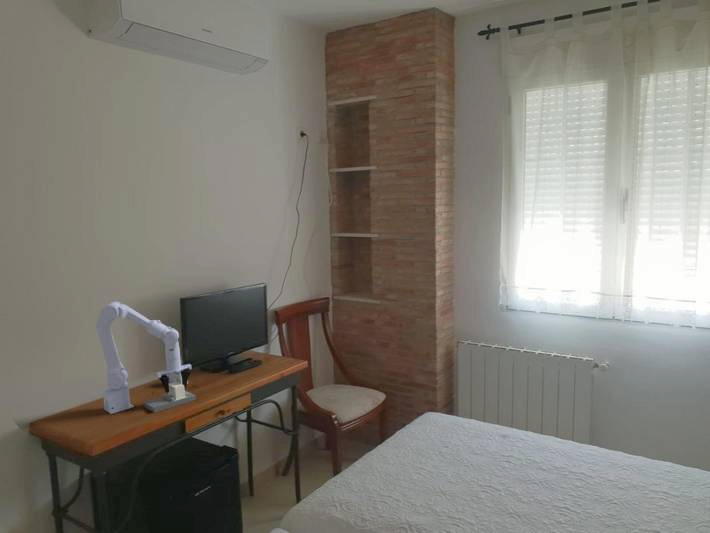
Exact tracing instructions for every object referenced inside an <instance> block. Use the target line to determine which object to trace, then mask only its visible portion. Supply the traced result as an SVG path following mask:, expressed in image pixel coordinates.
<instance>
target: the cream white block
mask: <svg viewBox="0 0 710 533" xmlns="http://www.w3.org/2000/svg"><path fill="white" fill-rule="evenodd" d="M185 389H186V388H184V385H182V384H180V383H178V382H172V383H169V393H167V395H169V396H171V397H173V398H175V399H176V400H177V399H180V398H183V397H185V391H186V390H185Z"/></svg>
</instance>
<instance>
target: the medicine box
mask: <svg viewBox="0 0 710 533" xmlns="http://www.w3.org/2000/svg"><path fill="white" fill-rule="evenodd" d="M167 377H168V378H169V383H172V382H178V383H180V384H182V377H181V373H180V372H177V373H173V374H169V375H167ZM188 384H189V380H188V381H187V385H188Z"/></svg>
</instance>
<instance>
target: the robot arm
mask: <svg viewBox="0 0 710 533" xmlns="http://www.w3.org/2000/svg"><path fill="white" fill-rule="evenodd" d="M118 317H119V318H118ZM117 318H118V319H119V320H123V319H128V320H130V321H133V322H134V323H137V324H138V325H141V326H143V327H144V328H145V330H146V332H147V333H148V334H151V335H153V336H154V337H156V338H158V339H159V340H162V341H163V343H164V352H165V361H166V362H165V363H166V364H165V365H166V368H165V369H162V370H160V371H157V372H156V378H158V379H159V380H160V382H161V384H162V385H163V388H164V391H165V393H166V394H168V393H169V376H168V375H169V374H173V373H177V372H180V373H181V377H182V385H184V388H185V389H187V386H188V384H187V381H188V382H189V378H190V375H191V370H192V364H190V363H187V364H183V365H182V360H181V350H180V344H179V338H180V334H179V333H180V332H179V331H178V330H176V328H172V327H171V326H167V325H165V324H164V323H162V321H161V320H159V319H158V320H156V319H152V320H150V319H148V318H147V317H146V316H144V315H143V314H141V313H139V312H138V311H136V310H134V309H133V308H132V307H130V306H128V305H126V304H124V303H121V302H120V301H118V300H113V301H110V302H109V303H108V304H106V305H104V307H103V308H102V309H101V310H100V311H99V315H98V319H97V320H96V324H95V328H96V332H97V335H98V338H99V341H100V345H101V349H102V353H103V356H104V359H105V362H106V366H107V370H106V371H107V374H106V375H107V381H106V382H107V385H108V389H107V390H104V391H103V393H102V397H103V410H104V411H106V412H107V413H109V414H110V415H111V414H115V413H118V412H123V411H126V410H128V409H132V408H135V406H134V405H133V404H131V398H130V390H129V383H128V382H127V381H128V379H129V373H128V371H127V370H126V369H125V368H124V365H123V363H122V362H121V360H120V355H119V352H118V348H117V344H116V342H115V339H114V334H113V331H112V328H111V325H112V324H113V323H114V321H115V320H116V319H117Z"/></svg>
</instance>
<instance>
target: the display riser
mask: <svg viewBox="0 0 710 533" xmlns="http://www.w3.org/2000/svg"><path fill="white" fill-rule="evenodd" d="M196 397H197V396H196V394H194V393H192V392H190V391H187V390H185V397H183V398H180V399H177V400H176V399H175V398H173V397H171V396H169V395H168V393H162V396H160V397H157V398H153V399H150V400H146V401H143V407H144V408H145V409H147V410H149V411H151V412H153V413H157V412H162V411H164V410H168V409H171V408H174V407H177V406H180V405H184V404H188V403H190V402H194V401H196V400H197V398H196Z"/></svg>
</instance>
